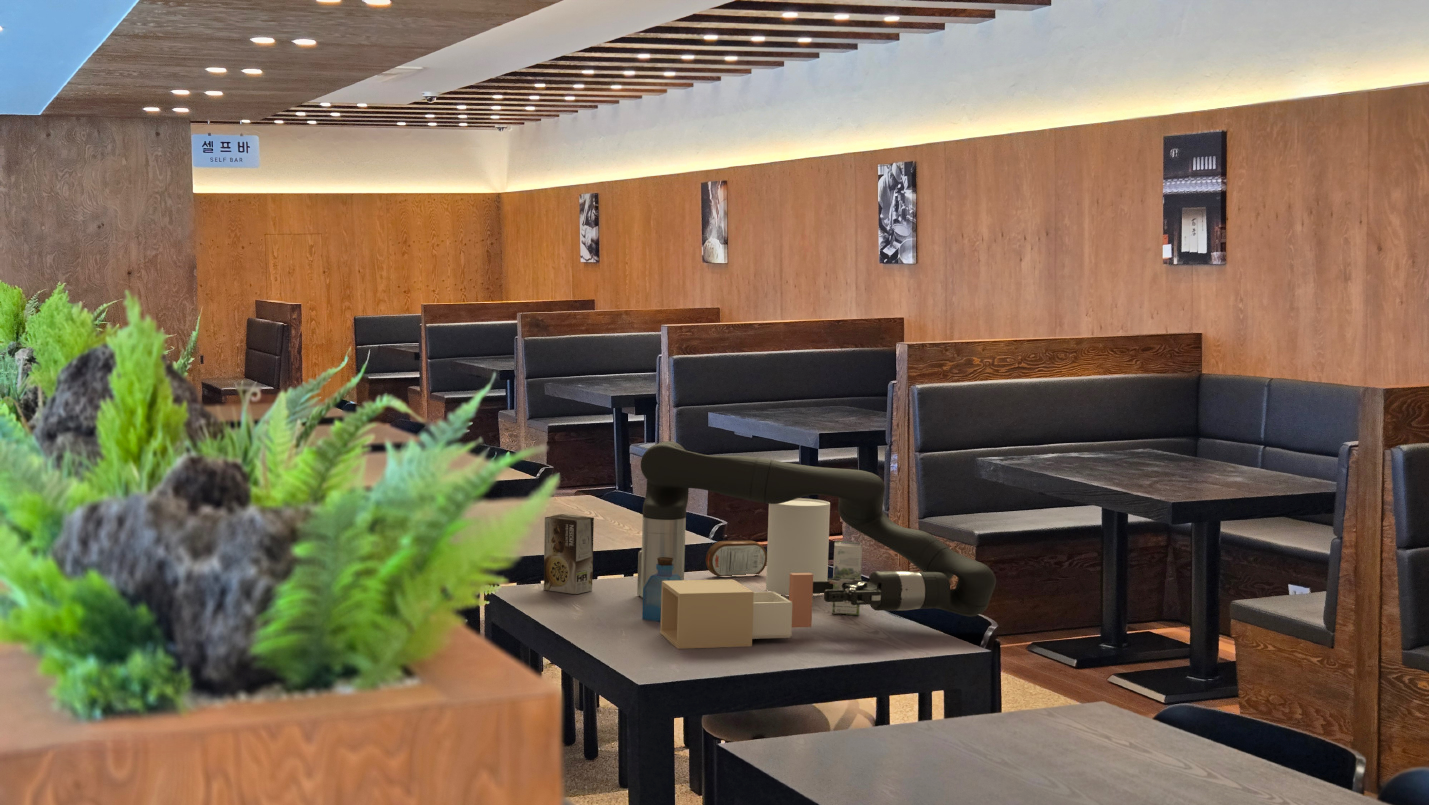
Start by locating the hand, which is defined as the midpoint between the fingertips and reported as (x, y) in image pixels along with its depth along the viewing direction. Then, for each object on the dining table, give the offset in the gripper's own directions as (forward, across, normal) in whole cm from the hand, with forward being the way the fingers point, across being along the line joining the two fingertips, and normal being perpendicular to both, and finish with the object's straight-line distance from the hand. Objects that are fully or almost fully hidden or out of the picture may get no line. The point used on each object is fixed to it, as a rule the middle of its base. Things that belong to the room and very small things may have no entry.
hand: (816, 591), depth 271 cm
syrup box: (-14, -21, +9) cm, 27 cm away
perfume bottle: (+25, -20, +9) cm, 33 cm away
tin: (-4, -64, +9) cm, 65 cm away
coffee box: (+38, -51, +9) cm, 65 cm away
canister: (-12, -45, +9) cm, 47 cm away
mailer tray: (+10, 0, +8) cm, 13 cm away
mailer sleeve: (+22, 0, +9) cm, 23 cm away
